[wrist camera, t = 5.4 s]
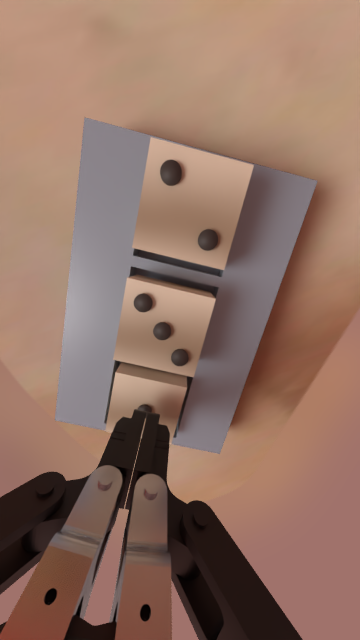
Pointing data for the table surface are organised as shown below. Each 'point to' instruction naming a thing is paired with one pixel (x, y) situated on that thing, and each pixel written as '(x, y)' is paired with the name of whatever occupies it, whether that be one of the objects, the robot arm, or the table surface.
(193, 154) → the button
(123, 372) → the button
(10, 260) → the table surface
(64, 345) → the panel
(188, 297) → the button
